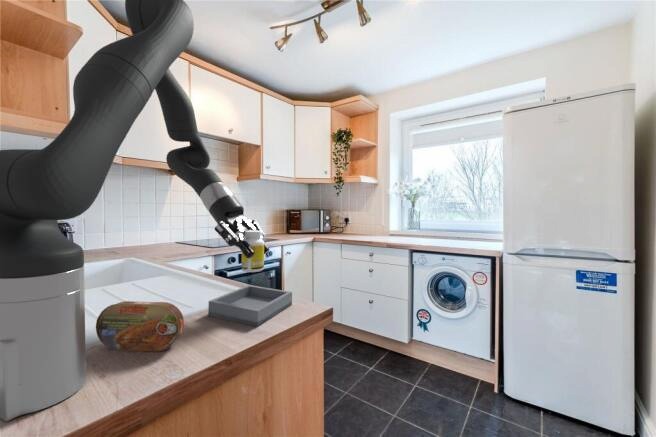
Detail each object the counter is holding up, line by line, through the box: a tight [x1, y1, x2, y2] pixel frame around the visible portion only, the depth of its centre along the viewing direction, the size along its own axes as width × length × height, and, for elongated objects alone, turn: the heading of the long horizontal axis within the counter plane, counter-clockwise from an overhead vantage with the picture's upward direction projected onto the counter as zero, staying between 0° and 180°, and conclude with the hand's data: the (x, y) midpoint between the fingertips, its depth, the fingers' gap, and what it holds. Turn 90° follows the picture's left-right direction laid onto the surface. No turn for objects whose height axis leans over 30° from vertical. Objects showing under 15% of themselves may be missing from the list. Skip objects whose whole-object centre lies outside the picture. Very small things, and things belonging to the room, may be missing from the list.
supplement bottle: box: [241, 230, 265, 273], centre depth 71 cm, size 5×5×10 cm
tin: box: [95, 300, 185, 353], centre depth 52 cm, size 15×3×8 cm, turn 89°
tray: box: [207, 284, 293, 328], centre depth 71 cm, size 15×14×4 cm
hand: (259, 253), depth 70 cm, fingers closed on supplement bottle, 5 cm apart
